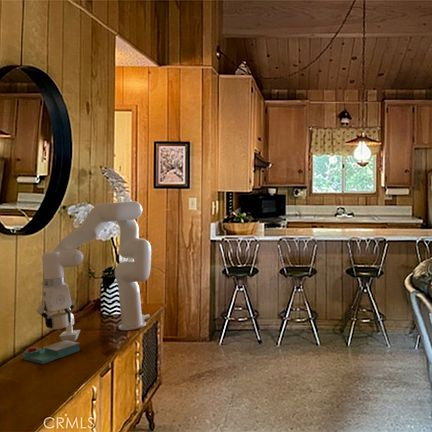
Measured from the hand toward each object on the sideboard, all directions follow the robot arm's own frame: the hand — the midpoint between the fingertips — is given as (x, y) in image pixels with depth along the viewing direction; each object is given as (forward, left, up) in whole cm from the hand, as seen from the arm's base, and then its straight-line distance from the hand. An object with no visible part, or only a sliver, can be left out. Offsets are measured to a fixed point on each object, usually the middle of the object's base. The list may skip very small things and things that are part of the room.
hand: (58, 324), depth 201 cm
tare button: (+8, -7, -10) cm, 14 cm away
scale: (+3, -3, -12) cm, 13 cm away
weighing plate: (0, 0, -12) cm, 12 cm away
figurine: (-12, -13, -12) cm, 21 cm away
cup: (0, 0, -1) cm, 1 cm away
